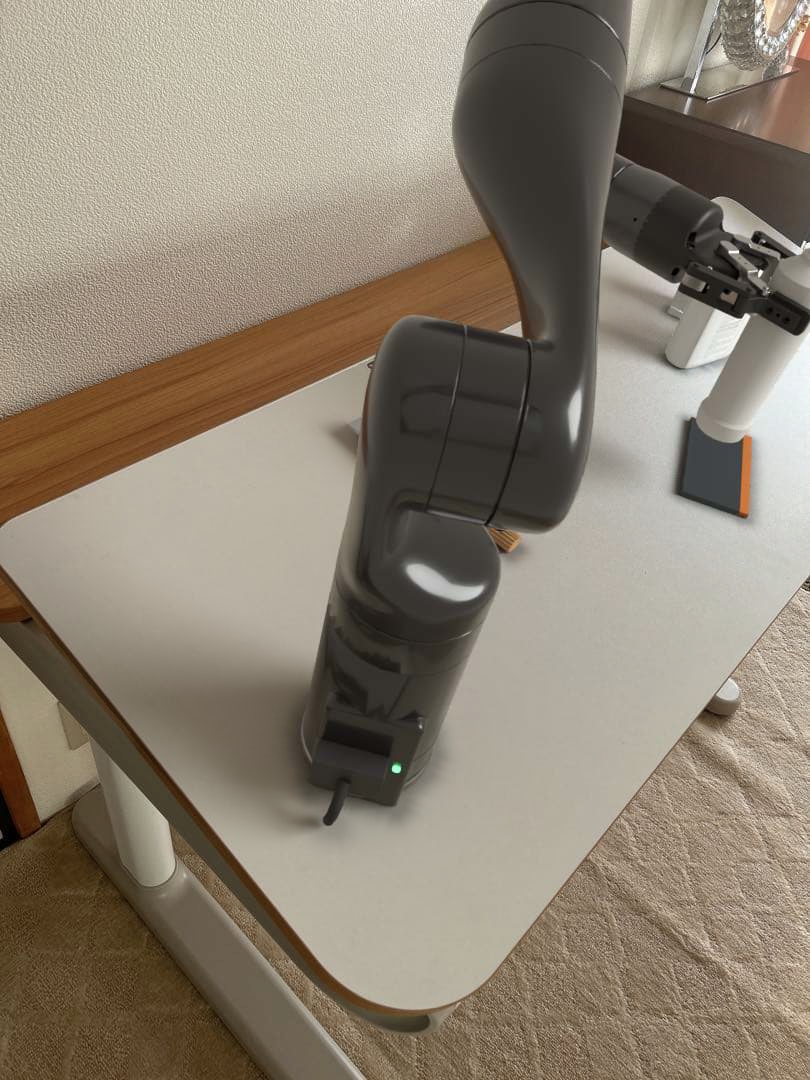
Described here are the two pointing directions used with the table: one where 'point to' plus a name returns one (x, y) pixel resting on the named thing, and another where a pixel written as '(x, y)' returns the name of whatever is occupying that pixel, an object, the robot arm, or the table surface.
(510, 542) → the paintbrush
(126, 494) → the table surface
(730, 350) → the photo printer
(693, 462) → the mat
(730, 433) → the bottle
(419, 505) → the robot arm
